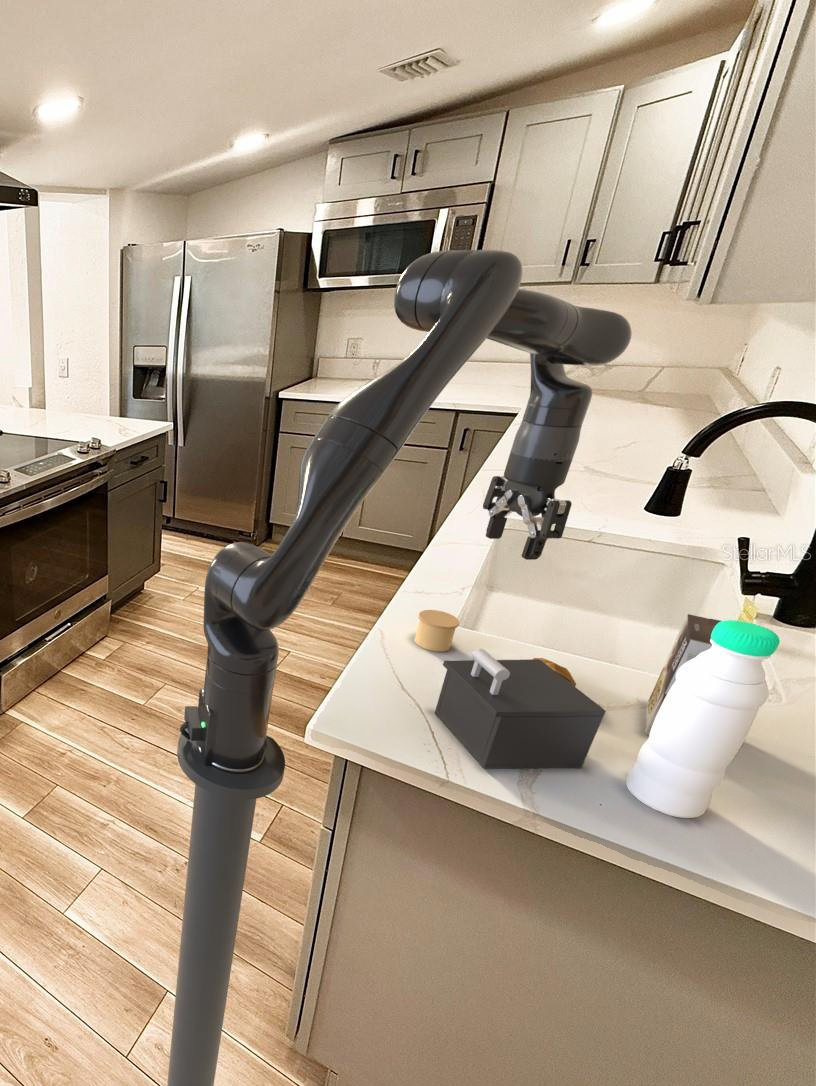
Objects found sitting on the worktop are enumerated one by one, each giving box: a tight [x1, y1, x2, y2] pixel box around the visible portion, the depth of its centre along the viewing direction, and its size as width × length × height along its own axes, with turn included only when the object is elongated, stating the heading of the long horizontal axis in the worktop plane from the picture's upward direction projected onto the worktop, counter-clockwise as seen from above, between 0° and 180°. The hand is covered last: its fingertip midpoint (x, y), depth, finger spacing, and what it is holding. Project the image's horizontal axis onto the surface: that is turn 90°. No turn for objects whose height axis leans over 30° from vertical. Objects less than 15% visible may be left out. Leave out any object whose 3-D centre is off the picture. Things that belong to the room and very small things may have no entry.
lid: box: [442, 648, 607, 717], centre depth 83 cm, size 13×12×5 cm
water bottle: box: [625, 619, 781, 819], centre depth 72 cm, size 7×7×25 cm
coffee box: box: [644, 613, 722, 736], centre depth 85 cm, size 9×6×16 cm
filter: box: [414, 609, 460, 653], centre depth 109 cm, size 6×6×5 cm
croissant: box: [533, 657, 577, 688], centre depth 96 cm, size 14×7×5 cm, turn 152°
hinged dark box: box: [434, 669, 604, 770], centre depth 86 cm, size 13×12×9 cm
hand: (510, 548), depth 100 cm, fingers open, 8 cm apart
